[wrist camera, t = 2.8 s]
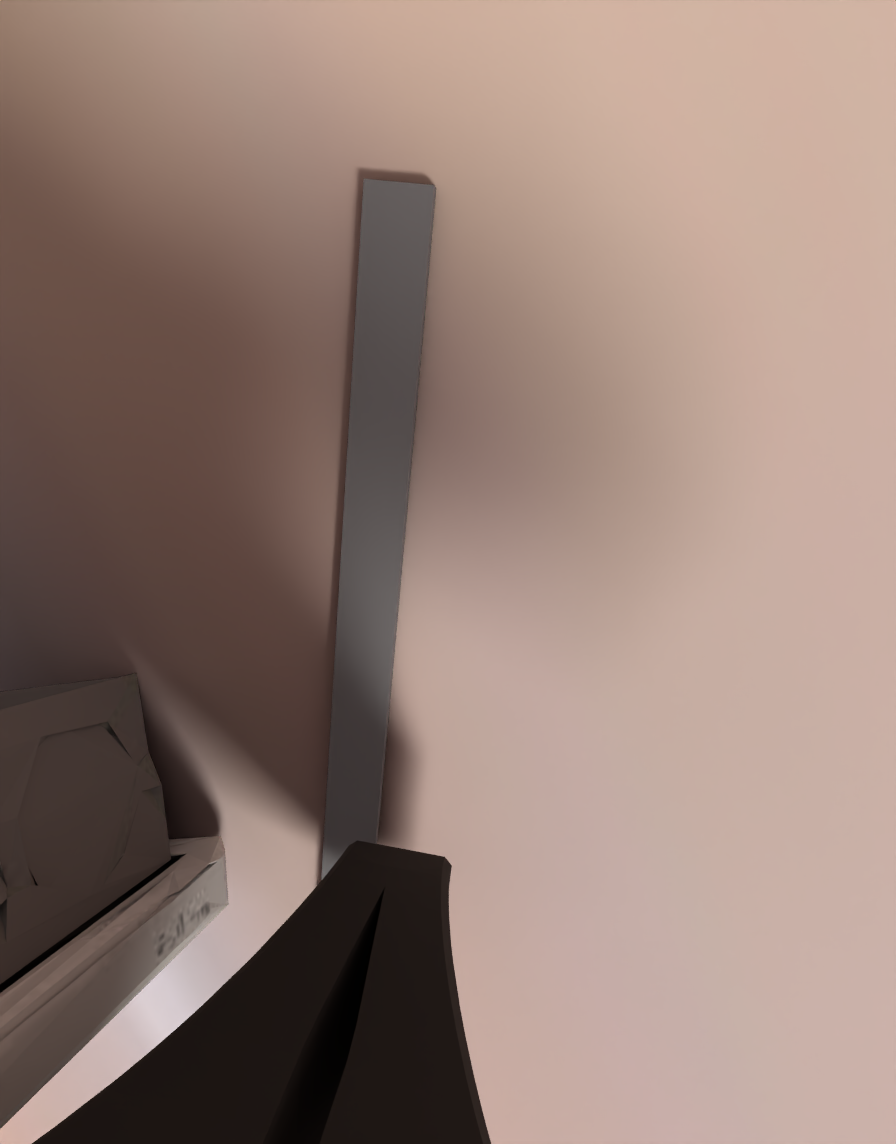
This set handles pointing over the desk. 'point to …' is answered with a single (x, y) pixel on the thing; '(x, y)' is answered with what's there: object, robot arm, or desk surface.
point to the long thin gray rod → (375, 499)
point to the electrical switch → (85, 874)
